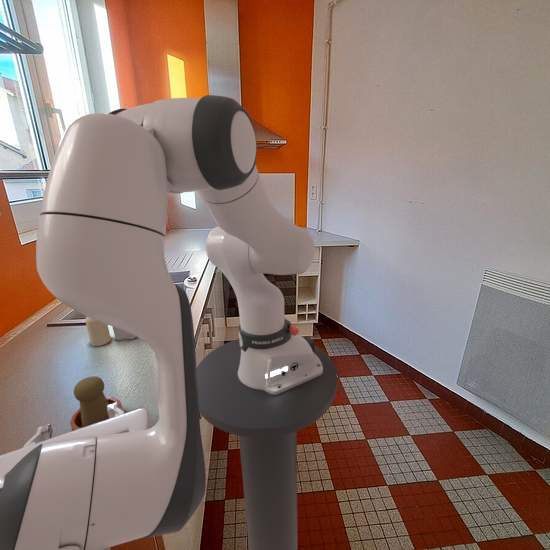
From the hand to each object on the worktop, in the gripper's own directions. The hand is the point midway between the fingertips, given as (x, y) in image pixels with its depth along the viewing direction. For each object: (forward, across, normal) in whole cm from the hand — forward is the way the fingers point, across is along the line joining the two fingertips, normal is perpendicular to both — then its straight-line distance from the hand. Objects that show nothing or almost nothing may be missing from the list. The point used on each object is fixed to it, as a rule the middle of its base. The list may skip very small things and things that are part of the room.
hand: (80, 416), depth 49 cm
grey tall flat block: (+49, -8, +13) cm, 51 cm away
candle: (+50, +1, +13) cm, 52 cm away
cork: (+12, 0, +12) cm, 17 cm away
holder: (+12, 0, +13) cm, 17 cm away
